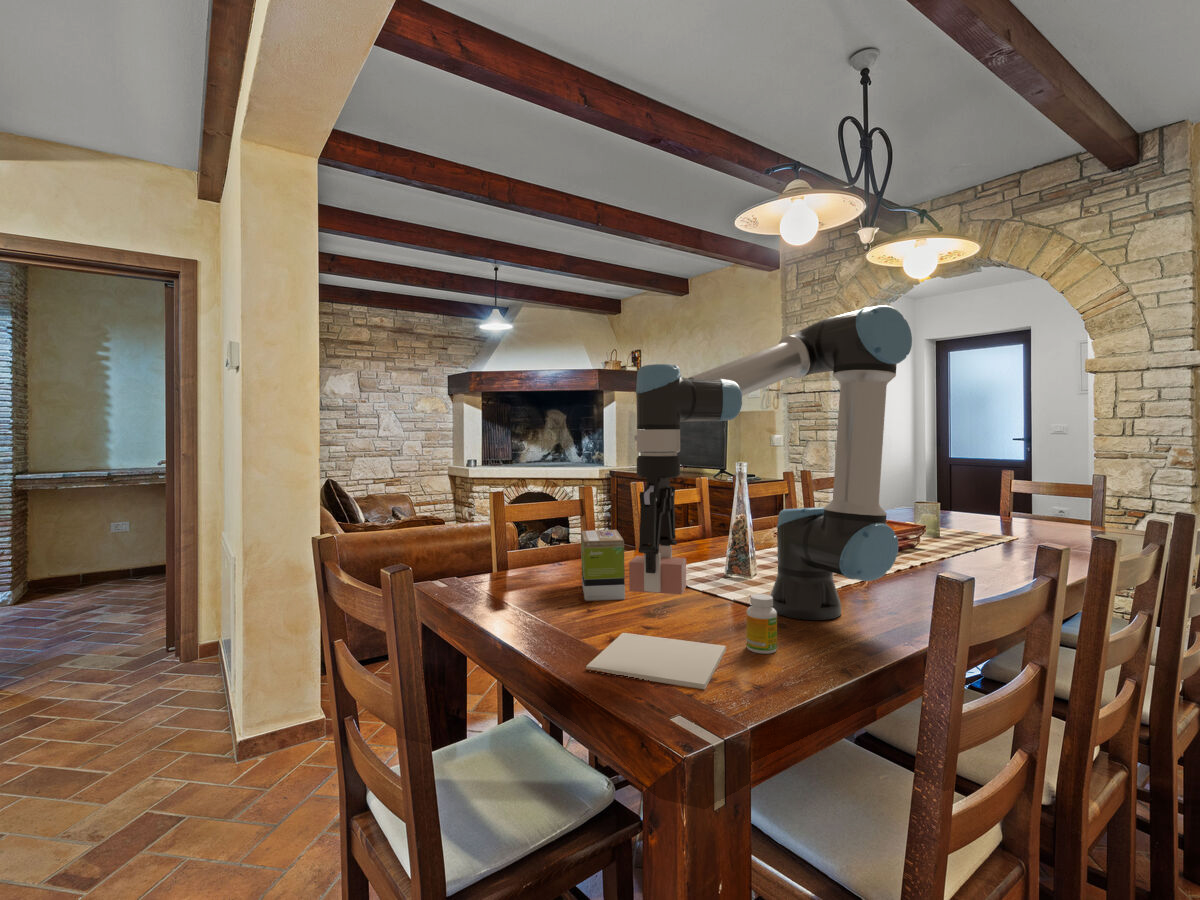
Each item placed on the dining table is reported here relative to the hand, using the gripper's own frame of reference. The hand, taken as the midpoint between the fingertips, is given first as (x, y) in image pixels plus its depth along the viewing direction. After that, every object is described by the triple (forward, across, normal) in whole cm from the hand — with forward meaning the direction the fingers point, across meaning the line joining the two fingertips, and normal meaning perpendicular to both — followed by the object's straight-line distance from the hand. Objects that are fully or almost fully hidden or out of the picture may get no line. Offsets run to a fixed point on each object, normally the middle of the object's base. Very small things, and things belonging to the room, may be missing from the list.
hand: (658, 586), depth 104 cm
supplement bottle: (+13, -12, +16) cm, 24 cm away
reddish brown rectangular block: (0, 0, 0) cm, 0 cm away
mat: (+13, 0, 0) cm, 13 cm away
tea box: (+13, -38, -26) cm, 48 cm away
